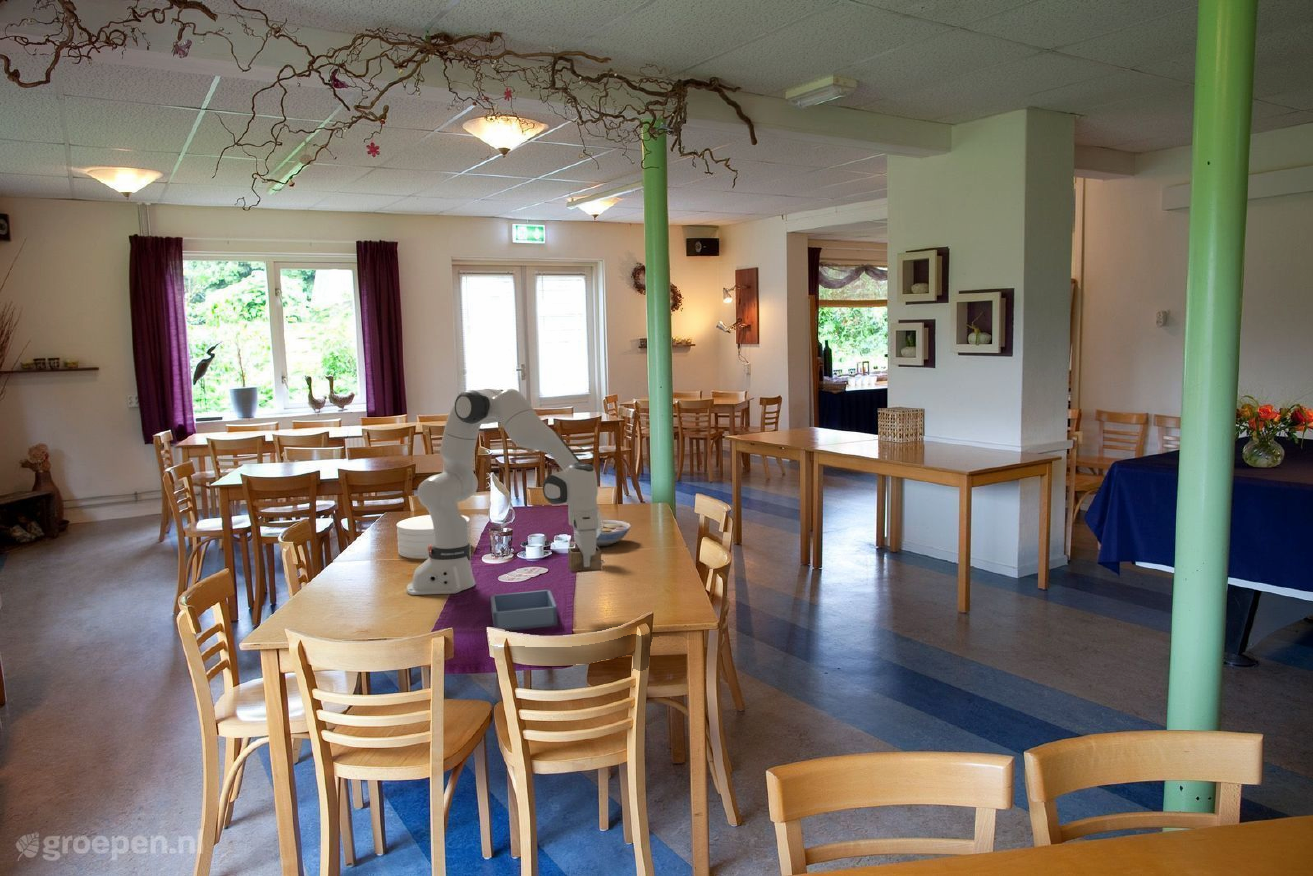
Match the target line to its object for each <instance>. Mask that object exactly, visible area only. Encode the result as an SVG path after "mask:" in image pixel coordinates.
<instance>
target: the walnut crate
mask: <svg viewBox="0 0 1313 876" xmlns="http://www.w3.org/2000/svg"><path fill="white" fill-rule="evenodd" d="M567 555H568V557H567V561H568V570H569V571H570V573H571V574H574V573H575V574H576V573H588V572H589V573H590V572H600V571H601V572H602V563H601V560H602V549H600V546H596V552H595V555H591V557H590V566H589V567H584V565H583V554H582V553H581V551H580V549H579V548H578V547H568V548H567Z"/></svg>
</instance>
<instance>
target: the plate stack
mask: <svg viewBox="0 0 1313 876" xmlns="http://www.w3.org/2000/svg"><path fill="white" fill-rule="evenodd" d="M461 516H462V517H464V518H465V519H466V521H467V527H468V543H469V544H470V549H471V548H472V544H471V541H472V540H471V539H472V538H471V525H470V522H471V521H470V517H468V516H466V515H463V514H461ZM396 529H397V531H396V533H397V534H396V535H397V548H398V551H397V552H398V553H397V554H398V555H400V556H401V557H404V558H410V559H428V558H429V551H428V547H429V545H433V546H434V545H435V540H434V528H433V522H432V519H431V516H430V514H426V515H425V514H424V515H419V516H414V517H409V518H406V519H403V520H400V521H398V522H397V523H396Z"/></svg>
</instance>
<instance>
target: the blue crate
mask: <svg viewBox="0 0 1313 876" xmlns="http://www.w3.org/2000/svg"><path fill="white" fill-rule="evenodd" d="M490 609H491V618H492V625H493V628H494V627H498V628H502V629H506V630H510V631H518V630H529V629H537V628H538V629H539V628H546V627H558V625H559V624H558V606H557V604H556V601H555V599H554V596H553V594H552V591H551V589H544V590H543V589H542V590H532V591H521V592H512V593H511V592H510V593H508V592H507V593H499V594H498V593H497V594H490Z"/></svg>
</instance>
